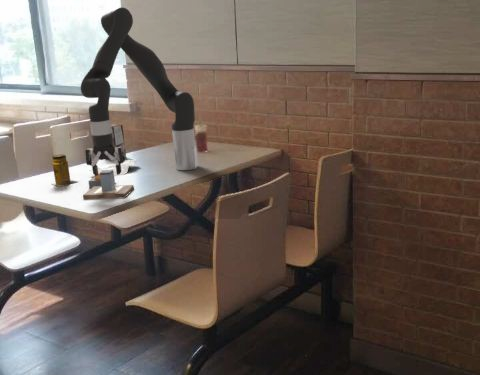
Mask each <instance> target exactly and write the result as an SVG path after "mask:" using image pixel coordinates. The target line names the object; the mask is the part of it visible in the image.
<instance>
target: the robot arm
mask: <svg viewBox="0 0 480 375" xmlns="http://www.w3.org/2000/svg"><path fill="white" fill-rule="evenodd" d="M100 24H101V27H102V29H103V30H104V32H105V33H106V34H107V38H106V40H105V41H104V42H103V44H101V46H100V48H99V49H98V51H97V53H96V55H95V57H94V58H95V59H94V60H93V63H92V67H91V68H90V69H89V70H88V72H87V73H86V74H85V75H84V77H83V79H82V80H81V84H80V92H81V95H82V96H83V97H85V98H88V99H97V103H95V104H91V105H89V107H88V113H89V122H90V134H91V140H92V146H93V148H89V147H88V148H87V149H85V150H84V151H85V152H84V153H85V160H86V161H85V162H86V165H87V166H91V169H93V172H92V173H93V175H94V174H95V176H98V168H99V167H98V165H97V164H98V162H99V161H103V160H106V161H108V160H111V162H113V163H114V164H116V172H117V175H119V174H120V173H121V163H123V162H125V160H126V158H125V157H124V152H123V147H122V146H120V147H118V148H115V147H114V142H113V135H112V128H111V125H112V124H111V119H110V112H109V108H110V107H109V104H110V96H111V91H112V90H111V85H110V82H109V80H108V79H107V78H109V77H110V76H111V75H112V72H113V67H114V65H115V62H116V59H117V57H118V54H119V51H120V50H122V51H123V52H124V53H125V55H126V56H127V57H128V58H129V59H130V60H131V62H132V63H133V64H134V65H135V67H136V69H138V71H139V72H140V73H141V74H142V75H143V77H144V78H145V79H146V80H147V81H148V83H149V84H150V85H151V86H152V88H154V89H155V90H156V92H157V94H158V95H159V96H160V98H161V100H162V101H163V103H164V105H165V106H166V107H167V109H168V110H170V111H171V112H172V113H175V114H174V116H175V117H174V118H175V120H174V122H172V123H171V130H172V142H173V144H172V145H173V152H174V163H175V165H174V166H175V169H176V170H178V171H190V170H196V169H197V168H198V166H199V165H198V153H197V151H198V150H197V145H196V143H195V142H196V141H195V140H196V139H195V128H194V124H195V120H196V119H195V117H196V115H195V114H196V113H195V102H194V98H193V96H192V94H191V93H189V92H187V91H181V90H178V89H177V88H176V87H175V85H174V84H173V83H172V82H171V80H170V79H169V77H168V75H167V72H166V68H165V66H164V63H163V62H162V61H161V59H160V58H159V57H158V56H157V54H156V53H155V51H153V50H152V49H151V48H149V47H147V46H146V45H144V44H143V43H140V42H139V41H137V40H135V39H133V37H131V36H130V34H129V33H130V31H131V29H132V26H133V24H134V19H133V14H132V13H131V11H130V10H129V9H128V8H125V7H122V6H120V7H116V8H114V9H111V10H110V11H108V12H105V13H104V14H103V15H102V16H101V18H100ZM115 151H117V153H119V158H120V159H118V158H117V156H116V155H115V154H114V152H115ZM93 154H94V155H95V157H94V158H93V161H92V155H93ZM95 176H94V177H95Z"/></svg>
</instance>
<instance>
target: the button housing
mask: <svg viewBox="0 0 480 375" xmlns="http://www.w3.org/2000/svg"><path fill="white" fill-rule="evenodd" d="M114 180H115V181H116V179H115V177H114ZM94 186H101V180H95V176H93V177H92V178H91V179H89V180H88V188H89V189H91V188H92V187H94Z"/></svg>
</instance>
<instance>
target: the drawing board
mask: <svg viewBox="0 0 480 375" xmlns="http://www.w3.org/2000/svg"><path fill="white" fill-rule="evenodd" d="M132 189H133V190H135V186H134V184H130V185H129V184H125V185H124V184H123V185H121V184H120V185H115V189H114V190H113V191H102V188H101V186H94V187H92V188H89V189H88V190H87V191H86V192H85V193H84V194H83V195H82V197H83V200H85V199H86V200H87V199H88V200H89V199H90V200H91V199H92V200H93V199H94V200H95V199H116V198H117V199H118V198H119V197H125V196H126V195H127V194H128V193H129V192H130V191H131V192H132V191H133V190H132ZM131 192H130V193H131ZM130 193H129V194H130ZM129 194H128V195H129ZM128 195H127V196H128ZM127 196H126V197H127ZM126 197H125V198H126ZM119 199H120V198H119Z"/></svg>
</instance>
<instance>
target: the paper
mask: <svg viewBox="0 0 480 375" xmlns="http://www.w3.org/2000/svg"><path fill="white" fill-rule="evenodd" d="M138 160H139V159H138V158H135V159H131V160H130V159H125V162H123V163H121V173H120V174H119V175H117V172H116V164H115V163H114V164H111V165H108V166H107V167H104V168H100V167H98V172H101V171H103V170H108V169H109V170H113V172H114V177H118V176H119V177H121V176H124V175H125V174H127V173H128V170H129V167H130V165H131V164H137V163H136V161H137V162H138ZM89 172H92V173H93V169H92V168H91V169H90V170H89Z"/></svg>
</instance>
